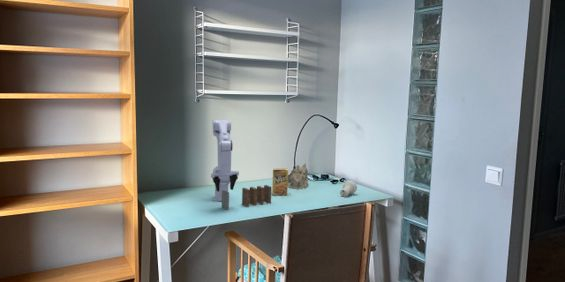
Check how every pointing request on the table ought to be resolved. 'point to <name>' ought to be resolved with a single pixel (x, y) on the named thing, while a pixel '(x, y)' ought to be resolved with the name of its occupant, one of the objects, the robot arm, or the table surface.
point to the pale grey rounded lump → (348, 188)
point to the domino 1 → (225, 200)
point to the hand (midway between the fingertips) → (224, 190)
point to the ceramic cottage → (298, 178)
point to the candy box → (280, 181)
